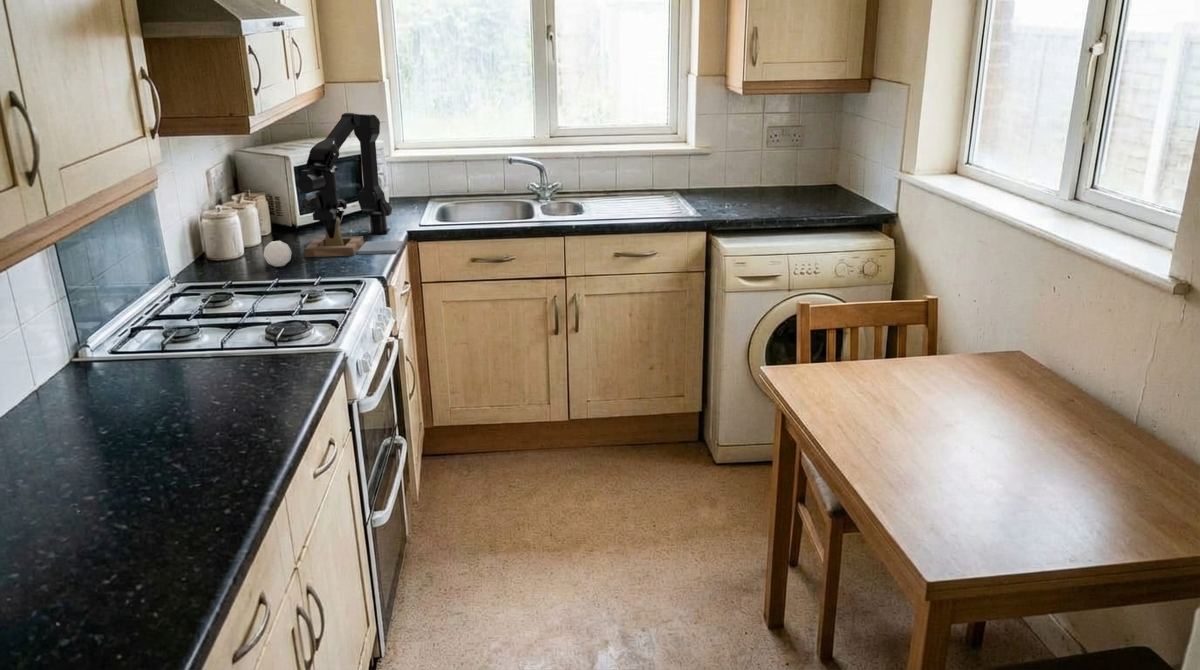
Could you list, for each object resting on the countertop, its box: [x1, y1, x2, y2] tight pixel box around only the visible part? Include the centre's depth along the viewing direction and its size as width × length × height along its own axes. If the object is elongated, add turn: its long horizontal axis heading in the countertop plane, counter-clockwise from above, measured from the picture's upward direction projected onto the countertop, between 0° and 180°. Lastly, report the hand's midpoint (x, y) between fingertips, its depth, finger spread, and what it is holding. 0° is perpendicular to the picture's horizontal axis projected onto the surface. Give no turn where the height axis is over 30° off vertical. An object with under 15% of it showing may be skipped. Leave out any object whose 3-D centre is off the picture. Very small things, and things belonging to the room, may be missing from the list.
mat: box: [357, 240, 404, 255], centre depth 273 cm, size 12×12×1 cm
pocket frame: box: [303, 235, 365, 258], centre depth 272 cm, size 15×15×2 cm
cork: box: [325, 216, 344, 246], centre depth 271 cm, size 6×6×11 cm
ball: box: [263, 240, 292, 268], centre depth 255 cm, size 8×8×8 cm
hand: (333, 236), depth 271 cm, fingers closed on cork, 4 cm apart
